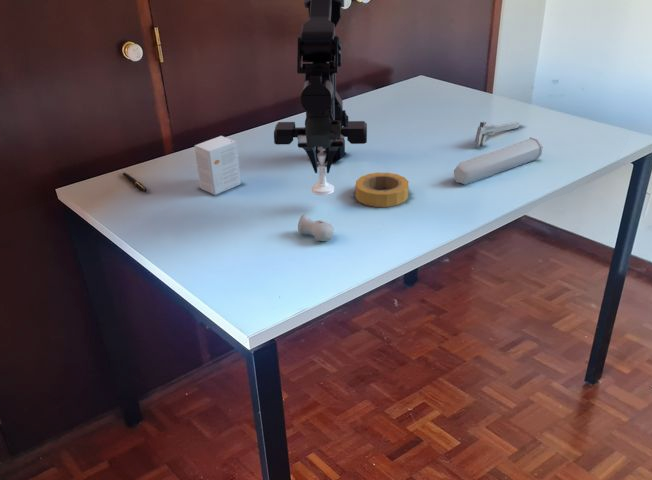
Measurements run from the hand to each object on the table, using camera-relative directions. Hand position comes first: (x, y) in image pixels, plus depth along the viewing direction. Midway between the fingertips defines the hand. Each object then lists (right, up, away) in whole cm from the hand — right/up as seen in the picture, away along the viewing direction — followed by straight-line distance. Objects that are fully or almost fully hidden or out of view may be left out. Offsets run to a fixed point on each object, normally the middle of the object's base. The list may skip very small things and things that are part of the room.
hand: (322, 172), depth 149 cm
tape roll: (+13, -3, +9) cm, 16 cm away
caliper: (+46, +18, +35) cm, 61 cm away
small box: (-23, 0, +16) cm, 28 cm away
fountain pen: (-44, +2, +19) cm, 48 cm away
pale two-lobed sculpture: (-1, -15, -5) cm, 15 cm away
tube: (+41, +4, +18) cm, 45 cm away
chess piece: (0, -3, +2) cm, 4 cm away
